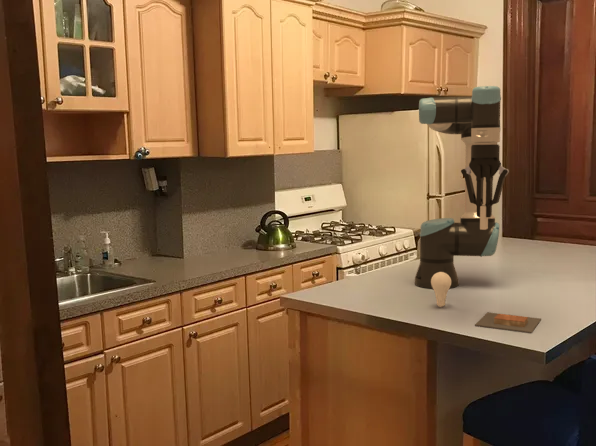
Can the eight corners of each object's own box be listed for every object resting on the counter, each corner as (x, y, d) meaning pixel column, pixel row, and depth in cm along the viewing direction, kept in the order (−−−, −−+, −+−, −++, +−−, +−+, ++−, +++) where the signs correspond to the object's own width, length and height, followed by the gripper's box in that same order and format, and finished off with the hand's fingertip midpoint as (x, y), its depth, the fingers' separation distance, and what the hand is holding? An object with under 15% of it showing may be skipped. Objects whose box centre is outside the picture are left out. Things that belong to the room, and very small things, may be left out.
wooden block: (494, 318, 177) (524, 321, 172) (498, 313, 181) (527, 317, 177) (494, 323, 177) (524, 327, 173) (498, 319, 181) (527, 322, 177)
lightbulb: (448, 304, 200) (448, 269, 198) (453, 309, 194) (453, 273, 192) (428, 304, 199) (428, 270, 198) (433, 310, 193) (433, 274, 192)
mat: (474, 325, 176) (474, 324, 176) (487, 313, 188) (487, 312, 188) (531, 333, 169) (531, 331, 169) (541, 319, 181) (541, 318, 181)
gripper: (457, 144, 175) (456, 229, 178) (506, 143, 168) (504, 232, 171) (465, 143, 181) (464, 226, 184) (512, 143, 175) (510, 228, 178)
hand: (483, 228), depth 178 cm, fingers closed
